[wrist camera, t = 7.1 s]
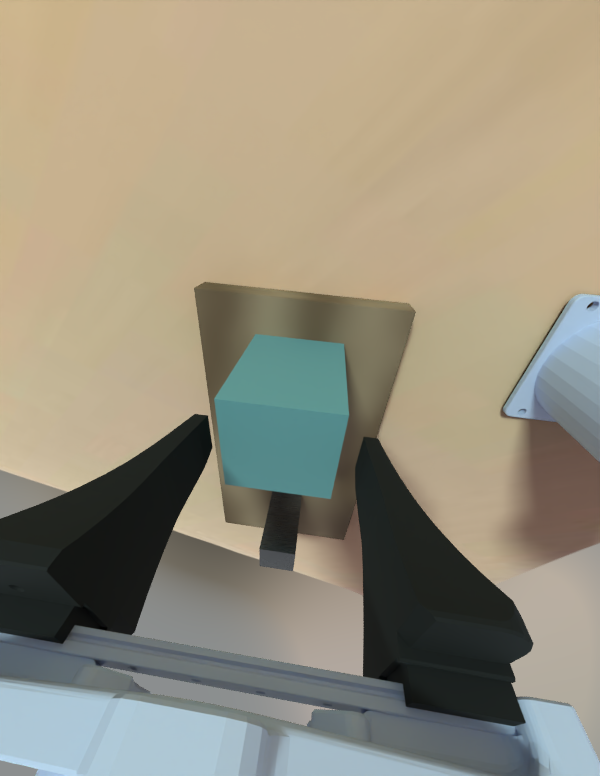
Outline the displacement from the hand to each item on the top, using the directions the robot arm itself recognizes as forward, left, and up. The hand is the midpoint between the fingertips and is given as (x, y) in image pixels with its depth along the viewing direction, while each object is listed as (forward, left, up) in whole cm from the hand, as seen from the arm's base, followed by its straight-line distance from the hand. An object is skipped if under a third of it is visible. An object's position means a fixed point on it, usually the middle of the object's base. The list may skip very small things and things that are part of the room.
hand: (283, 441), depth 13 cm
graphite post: (0, +13, -6) cm, 14 cm away
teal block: (0, 0, -6) cm, 6 cm away
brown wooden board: (0, +7, -7) cm, 10 cm away
